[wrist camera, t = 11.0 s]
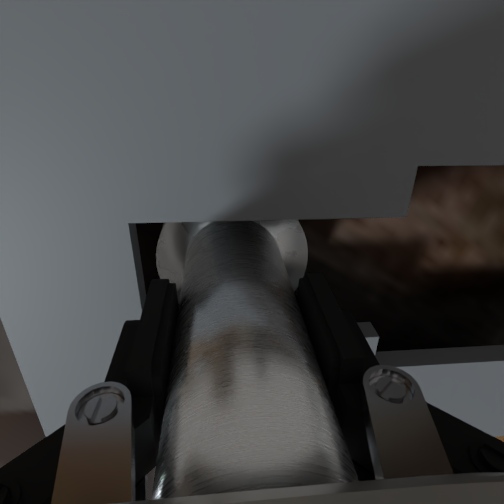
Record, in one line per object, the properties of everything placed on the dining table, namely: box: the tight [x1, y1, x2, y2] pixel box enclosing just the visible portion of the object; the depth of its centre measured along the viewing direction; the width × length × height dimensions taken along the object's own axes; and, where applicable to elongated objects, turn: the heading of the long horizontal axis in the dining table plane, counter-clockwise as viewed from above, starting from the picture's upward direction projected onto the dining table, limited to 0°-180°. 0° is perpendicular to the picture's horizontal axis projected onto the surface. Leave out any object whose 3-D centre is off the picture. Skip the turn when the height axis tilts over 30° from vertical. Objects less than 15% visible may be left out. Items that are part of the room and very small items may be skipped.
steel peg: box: [151, 220, 359, 500], centre depth 12 cm, size 6×6×13 cm
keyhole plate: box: [0, 0, 504, 437], centre depth 16 cm, size 20×26×4 cm
